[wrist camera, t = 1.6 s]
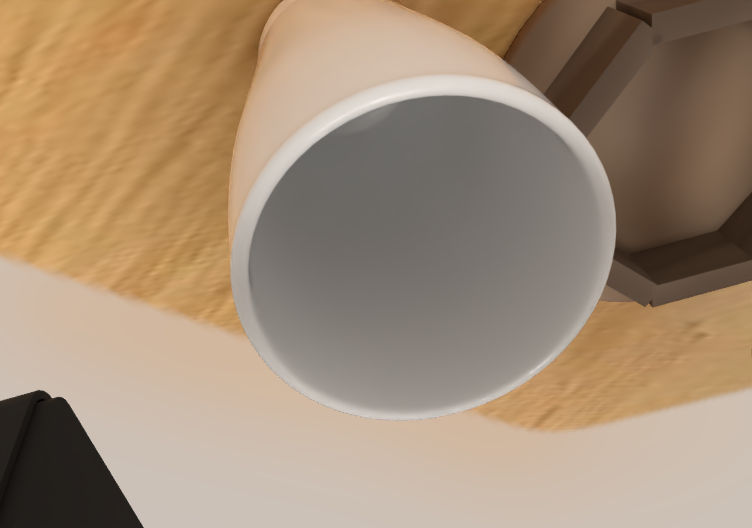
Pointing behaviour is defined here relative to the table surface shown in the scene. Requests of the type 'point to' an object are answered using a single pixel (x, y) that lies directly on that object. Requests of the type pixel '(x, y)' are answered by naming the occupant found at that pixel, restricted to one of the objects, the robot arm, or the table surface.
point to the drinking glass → (407, 214)
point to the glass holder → (658, 131)
